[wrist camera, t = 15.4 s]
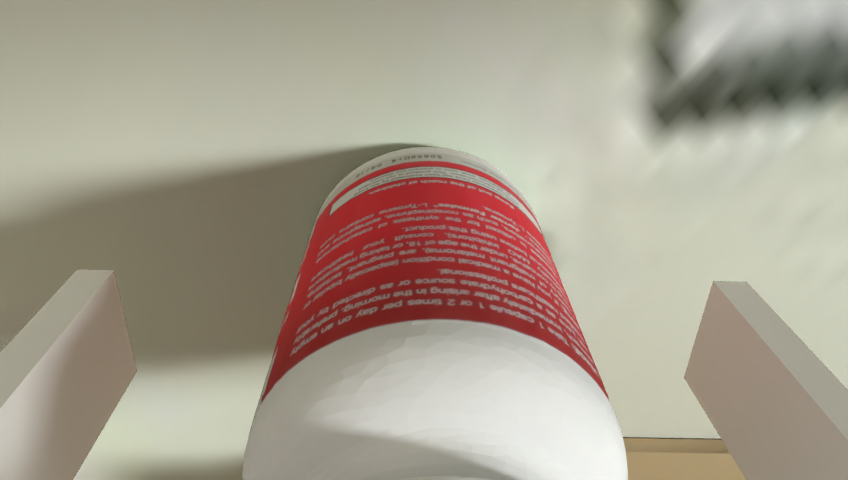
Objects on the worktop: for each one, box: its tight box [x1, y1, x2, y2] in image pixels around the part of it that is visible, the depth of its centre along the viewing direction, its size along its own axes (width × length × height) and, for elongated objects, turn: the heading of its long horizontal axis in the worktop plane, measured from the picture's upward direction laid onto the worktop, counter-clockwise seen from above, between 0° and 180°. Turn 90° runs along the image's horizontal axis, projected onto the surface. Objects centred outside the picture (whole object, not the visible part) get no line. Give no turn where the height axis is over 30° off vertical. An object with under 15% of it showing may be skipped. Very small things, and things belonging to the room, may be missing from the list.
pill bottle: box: [242, 147, 628, 480], centre depth 12 cm, size 6×6×11 cm
